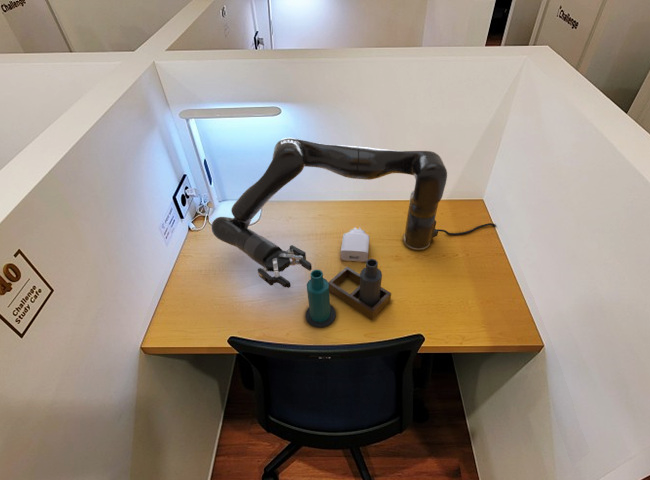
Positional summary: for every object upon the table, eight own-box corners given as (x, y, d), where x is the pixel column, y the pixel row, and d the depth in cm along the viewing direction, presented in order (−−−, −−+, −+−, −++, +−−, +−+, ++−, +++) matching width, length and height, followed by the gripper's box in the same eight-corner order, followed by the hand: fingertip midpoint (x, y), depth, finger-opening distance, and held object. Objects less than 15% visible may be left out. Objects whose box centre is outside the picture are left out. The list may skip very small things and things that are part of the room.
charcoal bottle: (372, 292, 115) (375, 252, 102) (382, 305, 111) (387, 265, 99) (355, 300, 113) (356, 260, 100) (366, 313, 109) (368, 273, 97)
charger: (370, 233, 135) (367, 262, 124) (345, 231, 136) (340, 260, 125) (370, 223, 131) (368, 252, 121) (345, 221, 132) (340, 250, 122)
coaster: (327, 299, 113) (326, 297, 113) (341, 319, 108) (341, 318, 107) (300, 310, 110) (300, 309, 110) (313, 332, 105) (313, 331, 104)
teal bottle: (324, 303, 112) (321, 262, 99) (333, 316, 108) (332, 277, 95) (306, 310, 110) (301, 270, 97) (315, 325, 106) (311, 285, 93)
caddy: (346, 274, 120) (346, 266, 118) (390, 301, 112) (391, 293, 110) (328, 291, 116) (327, 282, 113) (372, 320, 108) (372, 312, 105)
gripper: (241, 254, 104) (280, 282, 97) (278, 229, 112) (317, 253, 104) (246, 272, 110) (283, 300, 102) (281, 247, 117) (318, 271, 110)
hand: (300, 276), depth 103 cm, fingers open, 8 cm apart
